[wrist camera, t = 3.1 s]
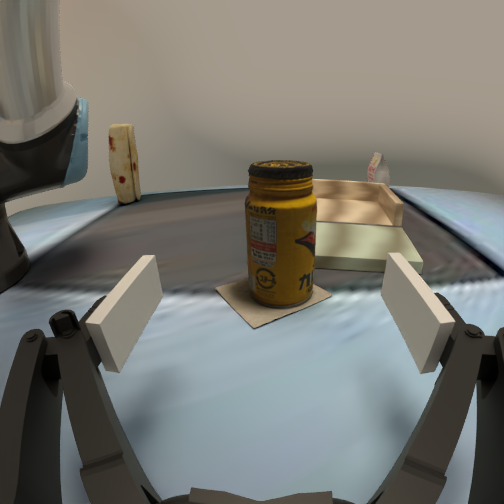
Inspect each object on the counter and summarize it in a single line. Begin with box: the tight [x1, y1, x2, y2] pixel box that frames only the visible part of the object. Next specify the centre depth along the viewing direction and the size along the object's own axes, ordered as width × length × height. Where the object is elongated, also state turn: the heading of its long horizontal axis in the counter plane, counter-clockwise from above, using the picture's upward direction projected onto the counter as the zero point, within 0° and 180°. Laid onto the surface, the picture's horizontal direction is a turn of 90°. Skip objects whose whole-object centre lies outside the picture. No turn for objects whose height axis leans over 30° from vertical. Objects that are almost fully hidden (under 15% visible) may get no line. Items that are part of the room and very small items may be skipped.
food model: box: [109, 124, 141, 204], centre depth 65 cm, size 10×7×20 cm
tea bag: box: [367, 152, 390, 188], centre depth 63 cm, size 4×7×10 cm, turn 172°
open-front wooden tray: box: [247, 179, 423, 274], centre depth 43 cm, size 20×28×5 cm
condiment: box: [216, 160, 332, 328], centre depth 25 cm, size 7×8×12 cm
